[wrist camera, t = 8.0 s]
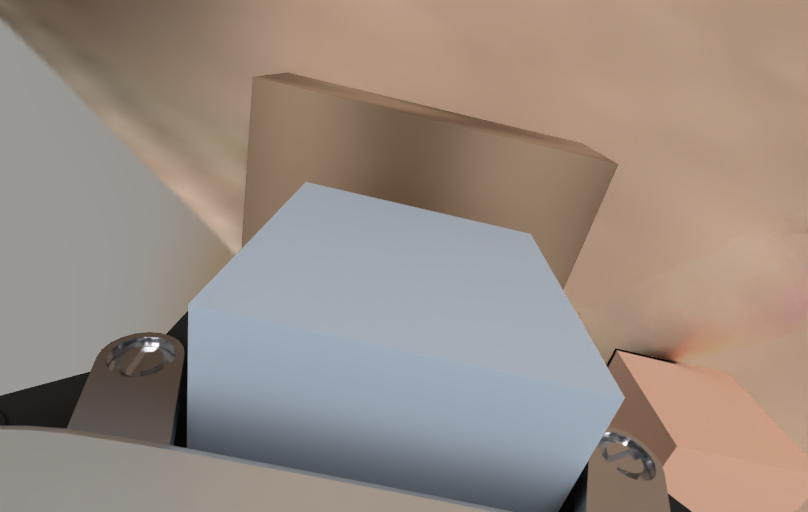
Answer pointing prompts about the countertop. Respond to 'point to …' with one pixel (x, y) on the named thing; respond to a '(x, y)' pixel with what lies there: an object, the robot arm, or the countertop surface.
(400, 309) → the slate block
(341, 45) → the countertop surface
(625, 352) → the terracotta cube
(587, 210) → the walnut base plate
